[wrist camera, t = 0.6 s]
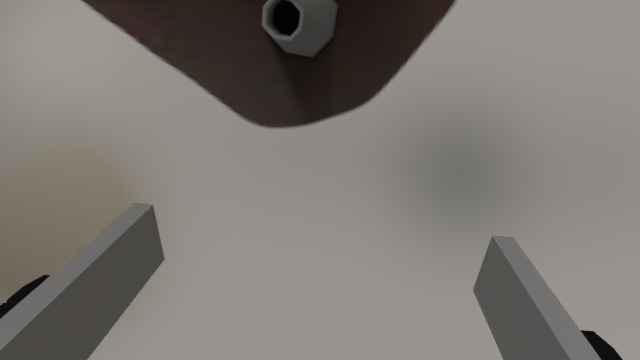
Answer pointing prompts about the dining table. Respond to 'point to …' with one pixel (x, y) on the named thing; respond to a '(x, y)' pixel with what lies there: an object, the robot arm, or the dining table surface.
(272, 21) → the flask
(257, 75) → the dining table surface
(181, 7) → the dining table surface
